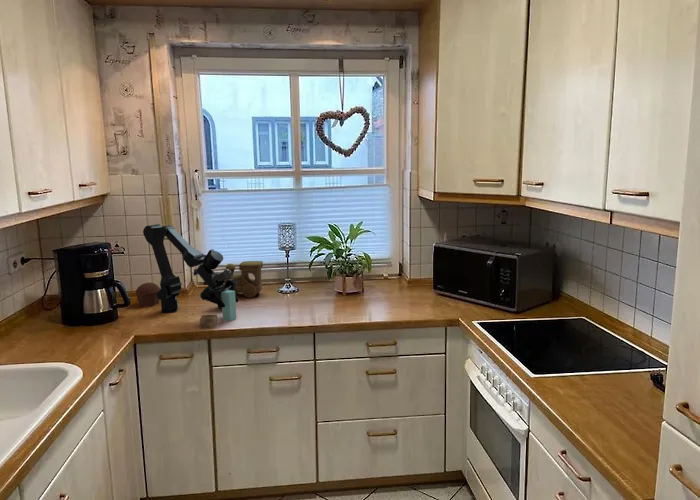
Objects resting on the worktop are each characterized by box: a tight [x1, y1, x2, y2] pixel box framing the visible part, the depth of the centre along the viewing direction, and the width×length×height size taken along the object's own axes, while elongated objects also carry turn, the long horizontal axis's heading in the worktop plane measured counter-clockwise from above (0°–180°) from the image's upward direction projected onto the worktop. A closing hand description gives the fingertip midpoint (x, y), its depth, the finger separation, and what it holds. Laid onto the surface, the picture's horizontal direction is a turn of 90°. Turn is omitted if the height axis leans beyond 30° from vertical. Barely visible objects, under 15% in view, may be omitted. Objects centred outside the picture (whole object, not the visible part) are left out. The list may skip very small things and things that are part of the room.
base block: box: [199, 313, 219, 329], centre depth 216 cm, size 6×6×4 cm
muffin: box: [134, 282, 161, 307], centre depth 249 cm, size 12×11×10 cm
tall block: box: [221, 290, 237, 322], centre depth 224 cm, size 4×4×12 cm
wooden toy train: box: [224, 260, 264, 299], centre depth 263 cm, size 20×11×17 cm, turn 87°
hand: (231, 304), depth 223 cm, fingers open, 9 cm apart
